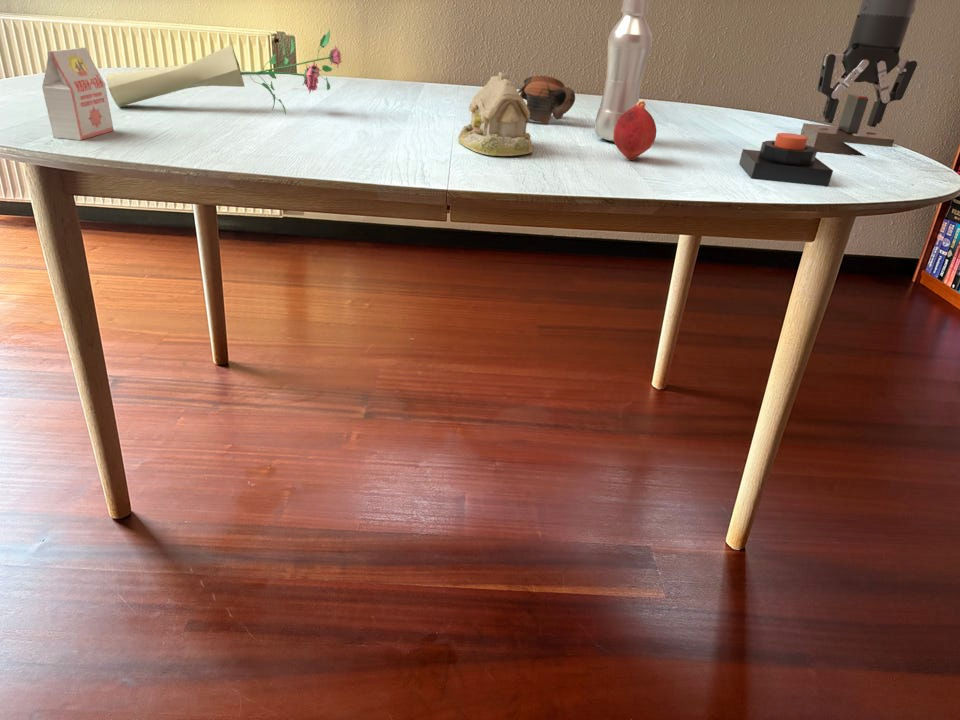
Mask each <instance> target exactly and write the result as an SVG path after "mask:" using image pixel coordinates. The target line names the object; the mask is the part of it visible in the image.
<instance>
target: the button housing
mask: <svg viewBox="0 0 960 720" xmlns="http://www.w3.org/2000/svg"><path fill="white" fill-rule="evenodd" d="M774 143H775V140H765V141H762V143H761V146H760V150H755V149H745V148H743V149H742V151H741V155H740V159H739V162H738V165H739V166H740V167H741V168H742V169H743V171H744V172H745V173H746V174H747V176H748V177H749V178H750V180H758V181H760V180H761V181H771V182H779V183H789V184H798V185H807V186H817V187H826V188H827V187H829V185H830V182H831V179H832V176H833V172H834V170H833V169H832V168H830V167H829V166H828V165H826V164H825V163H824V162H823V161H821V160H820V159H819V158H817V157H816V156H817V153H818V152H817V149H815V148H814V147H811V146H808V145H806V147H805V150H796V149H787V148H782V147H778V146H774Z"/></svg>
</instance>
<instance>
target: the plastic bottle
mask: <svg viewBox="0 0 960 720" xmlns="http://www.w3.org/2000/svg"><path fill="white" fill-rule="evenodd" d="M649 4H650V0H622V6H621V10H620V13H622V15H621V18H620V19H619V20H618V22H616V24H615V25H614V26H613V28H612V29H611V31H610V33H609V35H608V37H607V58H606V59H607V60H606V61H607V62H606V75H605V76H606V78H605V83H604V87H603V92H602V96H601V101H600V105H599V106H600V107H598V110H597V114H596V116H595V120H594V132H595V134H596V136H597V137H598V138H599V139H603V140H604V141H605V140H606V141H608V142H611V143H615V142H614V139H613V135H614V128H615V125H616V123H617V121H618V120H619V118H620V117H621V116H622V115H623V114H624V113H625V112H626V111H628V110H629V109H631V108H633V107H634V106H635V105H636V104H637V103H638V102H639V101H640V94H641V93H640V92H641V88H642V80H643V78H644V73H645V69H646V66H647V62H648V60H649V57H650V53H651V49H652V46H653V42H654V41H653V34H652V33H653V32H652V30H651V27H650V26H649V24H648V22H647V20H646V16H647V15H649V6H650V5H649Z"/></svg>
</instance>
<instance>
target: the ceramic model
mask: <svg viewBox="0 0 960 720" xmlns="http://www.w3.org/2000/svg"><path fill="white" fill-rule="evenodd" d="M468 111H469V112H471V114H470V123H469V124H467V125H463V127H462V129H461V131H460V132H459V135H458V137H457V139H458V140H457V142H458V144H460V145H461V146H463V147H465V148H467V149H469V150H470V151H472V152H476V153H478V154H482V155H487V156H494V157H495V156H499V157H501V156H503V157H504V156H506V157H507V156H508V157H509V156H523V155H527V154H530V153H532V152H534V145H533V144H532V140H531V134H530V132H527V125H528V124H529V123H530V121H531V120H529V118H530V112H529V110H528V107H527V102H525V99H522V97H521V96H520V93H518V89H517V88H516V86H515V85H514V82H512V81H511V80H510V79H509V74H508V72H506V71H499V73H498V75H493V76H491V77H490V78H489V80H488V82H487V83H486V84H485V85H484V86H483V87H482V88H481V89H480V90H478V92H477V93H476V94H475V95H474V97H473V98H472V100H471V101H470V103H469V106H468Z"/></svg>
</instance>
